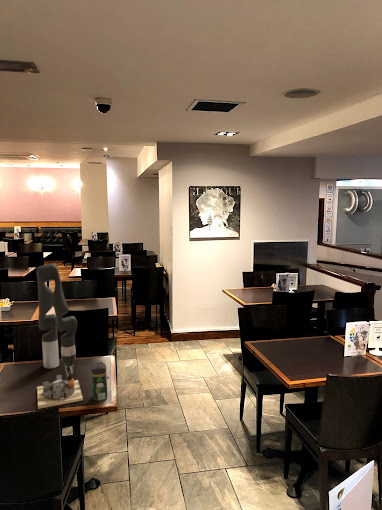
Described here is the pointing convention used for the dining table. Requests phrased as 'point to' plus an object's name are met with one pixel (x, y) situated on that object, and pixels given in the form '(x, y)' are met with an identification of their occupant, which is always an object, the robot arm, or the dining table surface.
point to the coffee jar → (99, 381)
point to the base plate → (73, 397)
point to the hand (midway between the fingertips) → (69, 382)
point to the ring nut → (58, 389)
